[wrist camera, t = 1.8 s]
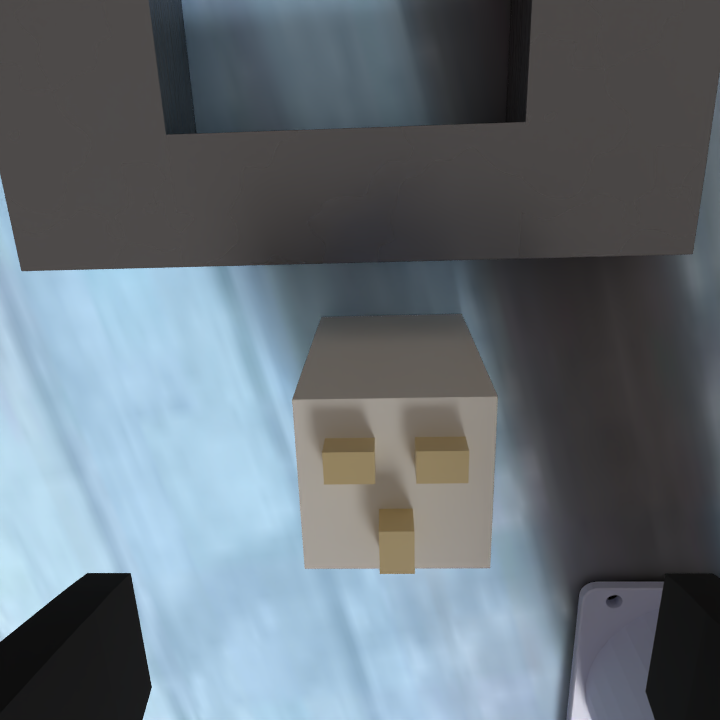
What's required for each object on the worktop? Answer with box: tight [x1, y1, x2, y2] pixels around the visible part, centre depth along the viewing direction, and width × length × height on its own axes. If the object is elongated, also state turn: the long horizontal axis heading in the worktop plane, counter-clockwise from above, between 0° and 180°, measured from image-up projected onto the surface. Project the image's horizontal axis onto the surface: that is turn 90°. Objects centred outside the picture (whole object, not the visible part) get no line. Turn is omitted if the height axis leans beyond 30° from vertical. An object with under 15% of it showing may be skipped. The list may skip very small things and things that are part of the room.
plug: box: [292, 314, 498, 574], centre depth 15 cm, size 4×4×7 cm
